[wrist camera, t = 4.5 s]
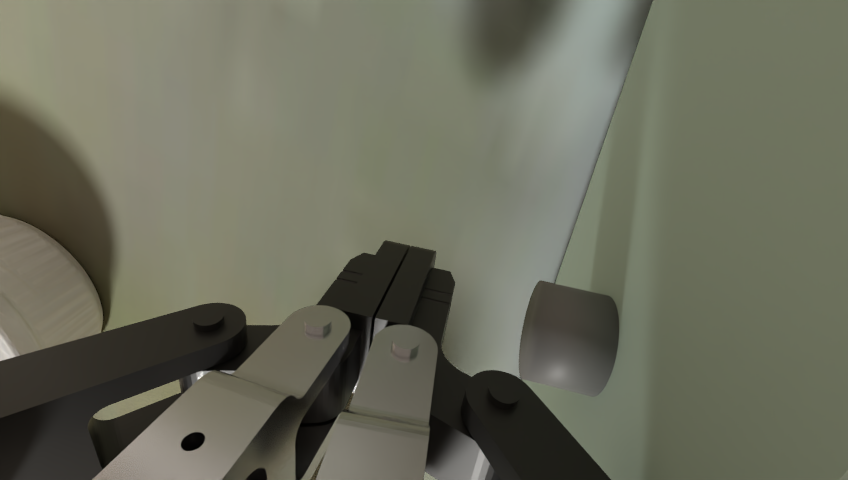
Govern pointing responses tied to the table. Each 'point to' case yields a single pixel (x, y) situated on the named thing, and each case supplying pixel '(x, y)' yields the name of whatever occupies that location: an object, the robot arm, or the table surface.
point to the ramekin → (42, 292)
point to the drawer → (711, 255)
